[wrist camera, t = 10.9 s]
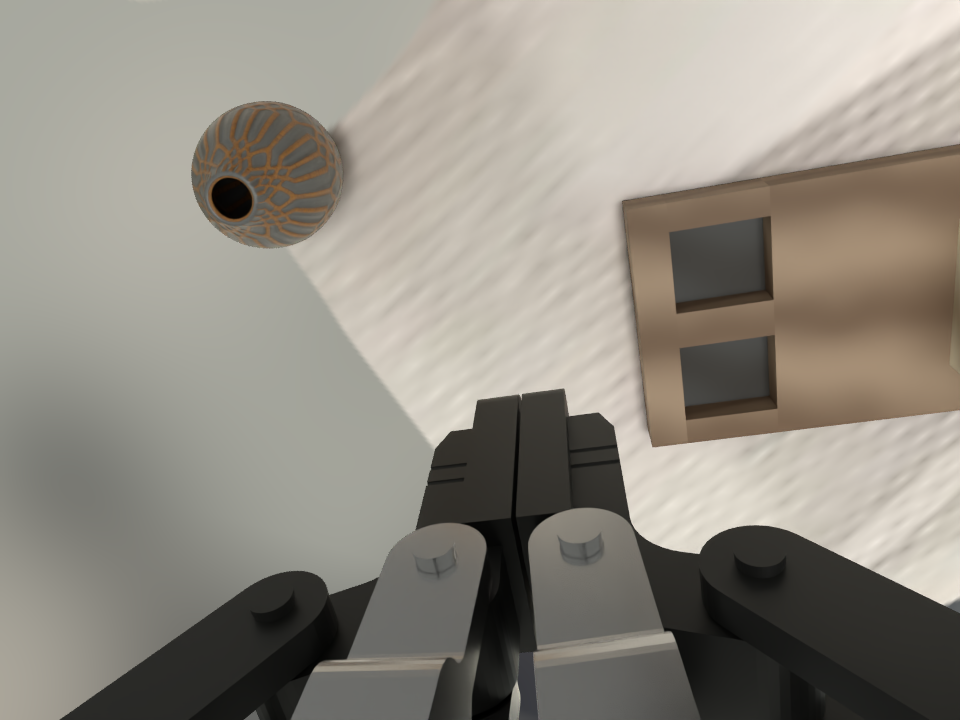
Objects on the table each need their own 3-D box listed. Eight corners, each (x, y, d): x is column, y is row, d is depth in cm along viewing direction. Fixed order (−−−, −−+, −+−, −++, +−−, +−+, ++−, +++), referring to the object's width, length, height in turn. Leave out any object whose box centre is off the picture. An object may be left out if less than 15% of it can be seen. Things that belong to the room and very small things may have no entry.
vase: (379, 144, 40) (338, 177, 32) (317, 249, 42) (266, 304, 34) (262, 67, 39) (190, 80, 31) (207, 180, 41) (127, 219, 33)
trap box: (622, 201, 40) (626, 210, 38) (1263, 93, 36) (1301, 97, 34) (648, 430, 45) (652, 447, 44) (1205, 360, 41) (1236, 376, 39)
